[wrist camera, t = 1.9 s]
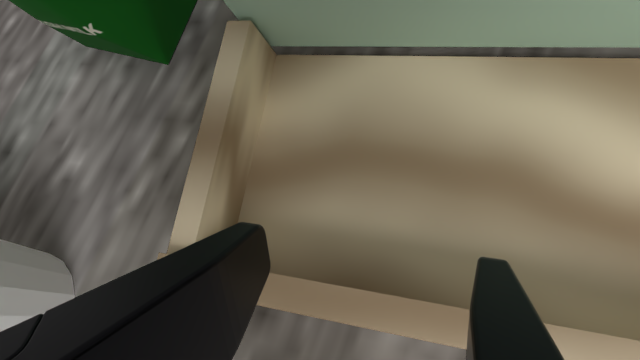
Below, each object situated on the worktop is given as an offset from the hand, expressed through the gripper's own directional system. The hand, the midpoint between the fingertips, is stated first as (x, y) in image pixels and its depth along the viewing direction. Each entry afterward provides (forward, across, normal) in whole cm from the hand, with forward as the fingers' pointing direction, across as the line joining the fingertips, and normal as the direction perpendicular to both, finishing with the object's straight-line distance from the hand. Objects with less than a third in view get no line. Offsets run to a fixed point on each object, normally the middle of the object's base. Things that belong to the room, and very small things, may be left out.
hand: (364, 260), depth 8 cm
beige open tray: (+13, 0, +6) cm, 14 cm away
